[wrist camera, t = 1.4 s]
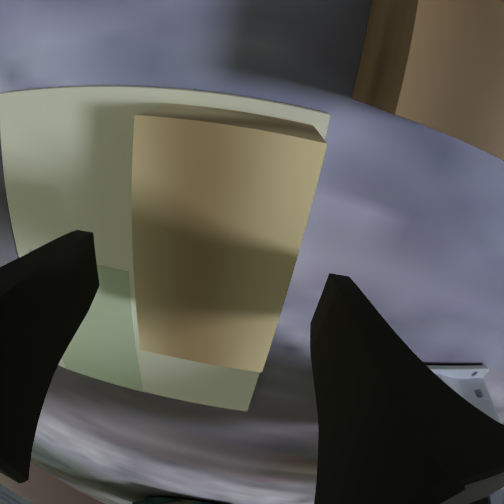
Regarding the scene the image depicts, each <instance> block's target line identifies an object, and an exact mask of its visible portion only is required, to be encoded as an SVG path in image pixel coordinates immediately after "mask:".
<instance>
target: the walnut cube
mask: <svg viewBox="0 0 504 504" xmlns="http://www.w3.org/2000/svg"><path fill="white" fill-rule="evenodd" d="M352 99H355V100H358V101H361V102H363V103H366V104H369V105H372V106H374V107H377V108H380V109H382V110H385V111H387V112H390V113H392V114H395V115H398V116H400V117H403V118H406V119H409V120H412V121H414V122H417V123H420V124H423V125H425V126H428V127H430V128H433V129H435V130H438V131H440V132H443V133H445V134H448V135H450V136H452V137H455V138H457V139H459V140H462V141H464V142H466V143H468V144H470V145H473V146H475V147H477V148H479V149H481V150H483V151H485V152H487V153H489V154H491V155H493V156H495V157H497V158H499V159H501V160H503V161H504V2H503V1H501V0H372V2H371V8H370V13H369V19H368V24H367V29H366V34H365V39H364V44H363V49H362V54H361V59H360V64H359V68H358V73H357V77H356V82H355V86H354V91H353V95H352Z"/></svg>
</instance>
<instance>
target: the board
mask: <svg viewBox="0 0 504 504" xmlns="http://www.w3.org/2000/svg"><path fill="white" fill-rule="evenodd" d="M167 103H176V104H187V105H196V106H205V107H213V108H221V109H228V110H235V111H241V112H248V113H254V114H260V115H265V116H271V117H276V118H281V119H287V120H292V121H296V122H301V123H306V124H310V125H313V126H314V127H315V128H316V130H317V131H318V132H319V133H320V135H321V136H322V137H323V139H324V140H325V136H326V132H327V128H328V123H329V119H330V114H329V113H327V112H323V111H319V110H314V109H310V108H305V107H301V106H296V105H291V104H286V103H281V102H276V101H270V100H265V99H259V98H253V97H246V96H240V95H233V94H226V93H218V92H209V91H200V90H190V89H179V88H166V87H149V86H112V85H101V86H66V87H49V88H37V89H27V90H17V91H9V92H5V93H1V94H0V134H1V150H2V162H3V171H4V180H5V188H6V195H7V201H8V207H9V213H10V219H11V224H12V229H13V234H14V238H15V243H16V247H17V252H18V256H19V258H20V257H22V256H24V255H26V254H27V253H29V252H31V251H33V250H35V249H37V248H39V247H41V246H43V245H45V244H47V243H49V242H51V241H53V240H55V239H57V238H59V237H61V236H63V235H65V234H67V233H70V232H72V231H75V230H81V231H87V232H93V235H94V245H95V254H96V262H97V270H98V277H99V284H100V286H99V288H98V290H97V293H96V295H95V297H94V300H93V302H92V304H91V306H90V309H89V311H88V313H87V314H86V316H85V318H84V320H83V321H82V323H81V325H80V327H79V328H78V330H77V332H76V334H75V335H74V337H73V339H72V340H71V342H70V344H69V346H68V348H67V349H66V351H65V353H64V355H63V357H62V358H61V360H60V362H59V364H58V366H61V367H64V368H66V369H68V370H71V371H74V372H77V373H80V374H83V375H86V376H89V377H92V378H95V379H99V380H102V381H105V382H108V383H112V384H115V385H119V386H122V387H126V388H130V389H133V390H137V391H141V392H147V393H151V394H155V395H160V396H164V397H168V398H173V399H178V400H182V401H187V402H192V403H198V404H203V405H209V406H214V407H220V408H227V409H233V410H240V411H247V410H248V407H249V404H250V401H251V398H252V395H253V392H254V389H255V386H256V383H257V380H258V377H259V374H260V372H255V371H248V370H242V369H235V368H229V367H223V366H217V365H212V364H206V363H201V362H195V361H190V360H185V359H180V358H176V357H171V356H166V355H162V354H157V353H153V352H148V351H144V350H141V349H140V340H139V332H138V322H137V311H136V300H135V287H134V271H133V250H132V154H133V134H134V119H135V115H136V114H139V113H141V112H144V111H147V110H150V109H152V108H155V107H158V106H161V105H164V104H167Z"/></svg>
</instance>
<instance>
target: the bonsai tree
mask: <svg viewBox="0 0 504 504" xmlns="http://www.w3.org/2000/svg"><path fill="white" fill-rule="evenodd" d="M132 504H214V503H209V502H201V501H194V500H187V499H181V498H169V497H148V498H147V499H146V500H143V501H136V502H133V503H132Z"/></svg>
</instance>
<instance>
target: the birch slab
mask: <svg viewBox="0 0 504 504" xmlns="http://www.w3.org/2000/svg"><path fill="white" fill-rule="evenodd" d="M326 147H327V143H326V142H325V140H324V139H323V137H322V136H321V135H320V133H319V132H318V131H317V130H316V128H315V127H314V126H313V125H310V124H306V123H301V122H296V121H292V120H287V119H281V118H276V117H271V116H265V115H260V114H254V113H248V112H241V111H235V110H228V109H221V108H213V107H205V106H196V105H187V104H176V103H167V104H164V105H161V106H158V107H155V108H152V109H150V110H147V111H144V112H141V113H139V114H136V115H135V119H134V134H133V154H132V250H133V271H134V287H135V300H136V311H137V322H138V332H139V340H140V349H141V350H144V351H148V352H153V353H157V354H162V355H166V356H171V357H176V358H180V359H185V360H190V361H195V362H201V363H206V364H212V365H217V366H223V367H229V368H235V369H242V370H248V371H255V372H262V371H263V368H264V365H265V362H266V359H267V356H268V353H269V349H270V346H271V343H272V340H273V337H274V334H275V330H276V327H277V324H278V321H279V317H280V314H281V311H282V307H283V304H284V301H285V297H286V294H287V291H288V287H289V284H290V281H291V277H292V274H293V270H294V267H295V263H296V260H297V256H298V253H299V249H300V246H301V242H302V238H303V235H304V231H305V228H306V224H307V220H308V217H309V213H310V209H311V205H312V202H313V198H314V194H315V190H316V186H317V182H318V178H319V175H320V171H321V167H322V163H323V159H324V155H325V151H326Z"/></svg>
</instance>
